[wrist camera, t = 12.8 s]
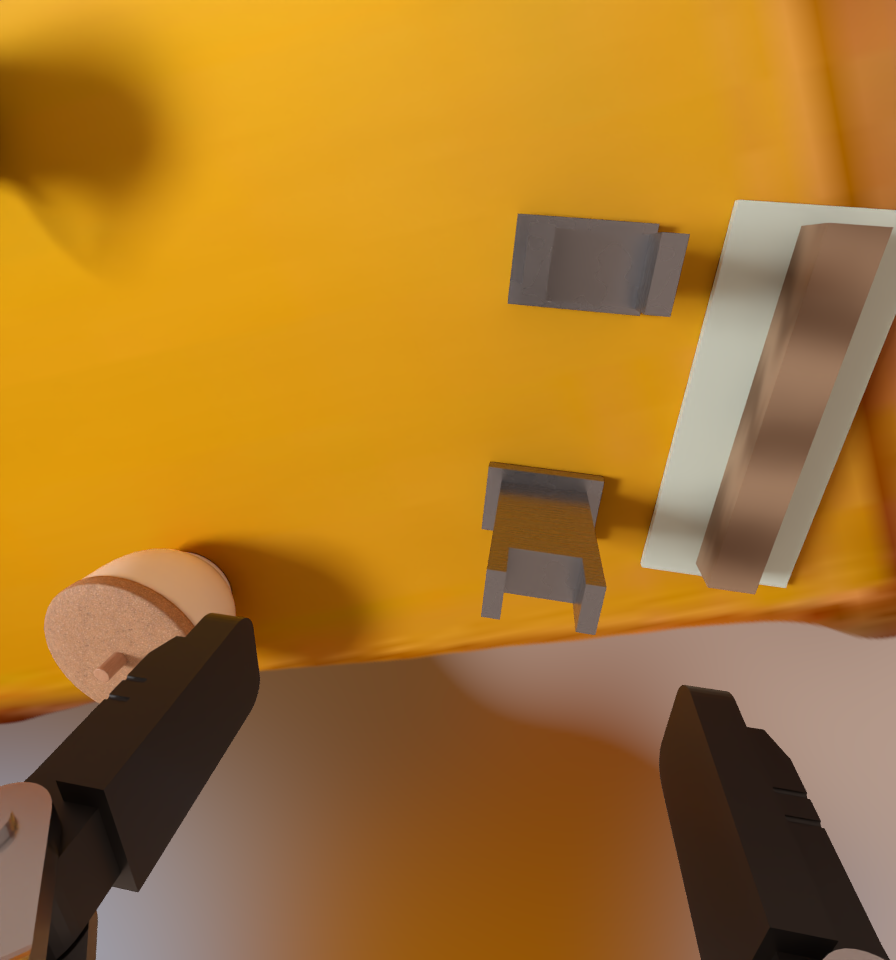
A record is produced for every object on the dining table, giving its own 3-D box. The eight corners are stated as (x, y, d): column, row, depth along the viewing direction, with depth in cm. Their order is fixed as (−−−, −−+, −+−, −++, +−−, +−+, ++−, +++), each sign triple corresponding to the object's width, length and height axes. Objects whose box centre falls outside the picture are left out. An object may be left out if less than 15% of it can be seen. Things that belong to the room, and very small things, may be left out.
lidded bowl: (126, 615, 50) (22, 705, 40) (132, 503, 45) (14, 575, 34) (250, 660, 50) (177, 763, 40) (271, 554, 44) (193, 641, 34)
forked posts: (518, 215, 31) (507, 191, 20) (655, 224, 31) (725, 206, 19) (483, 522, 40) (461, 628, 29) (589, 537, 39) (610, 653, 28)
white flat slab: (735, 200, 30) (738, 199, 29) (928, 213, 28) (936, 212, 28) (640, 562, 39) (641, 567, 39) (782, 583, 38) (785, 588, 37)
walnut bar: (801, 225, 29) (828, 222, 26) (859, 229, 29) (893, 227, 26) (695, 563, 38) (707, 587, 35) (739, 569, 37) (755, 594, 35)
